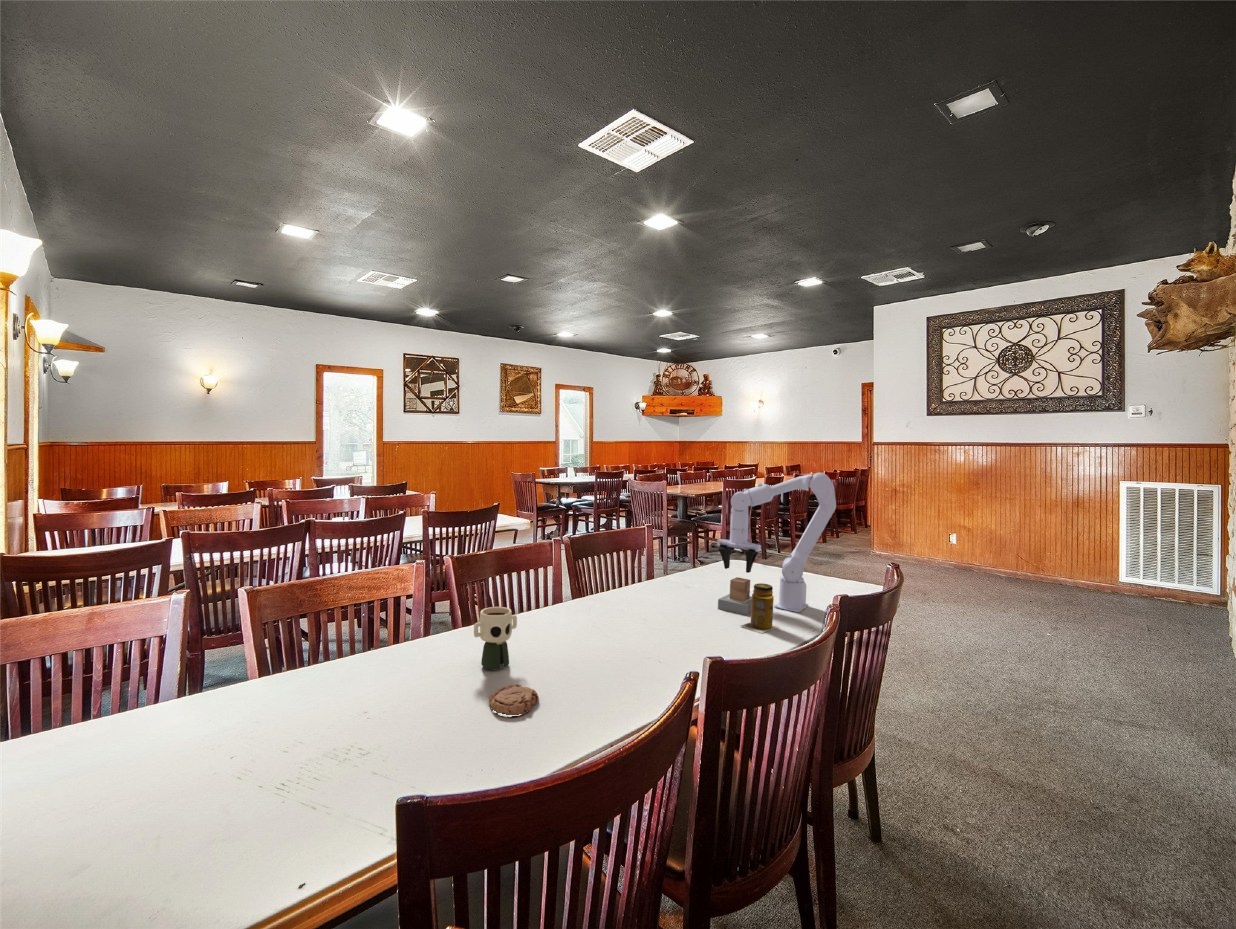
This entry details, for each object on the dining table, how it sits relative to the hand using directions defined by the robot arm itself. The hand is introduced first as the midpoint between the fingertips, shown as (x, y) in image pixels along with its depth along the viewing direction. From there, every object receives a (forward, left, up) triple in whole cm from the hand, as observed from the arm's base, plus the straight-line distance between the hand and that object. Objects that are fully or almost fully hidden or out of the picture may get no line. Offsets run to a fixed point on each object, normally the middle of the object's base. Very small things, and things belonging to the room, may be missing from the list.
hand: (737, 570), depth 192 cm
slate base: (+6, +4, -10) cm, 13 cm away
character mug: (+86, -19, -11) cm, 89 cm away
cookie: (+96, -2, -11) cm, 97 cm away
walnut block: (+6, +4, -7) cm, 10 cm away
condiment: (+19, +16, -11) cm, 27 cm away
